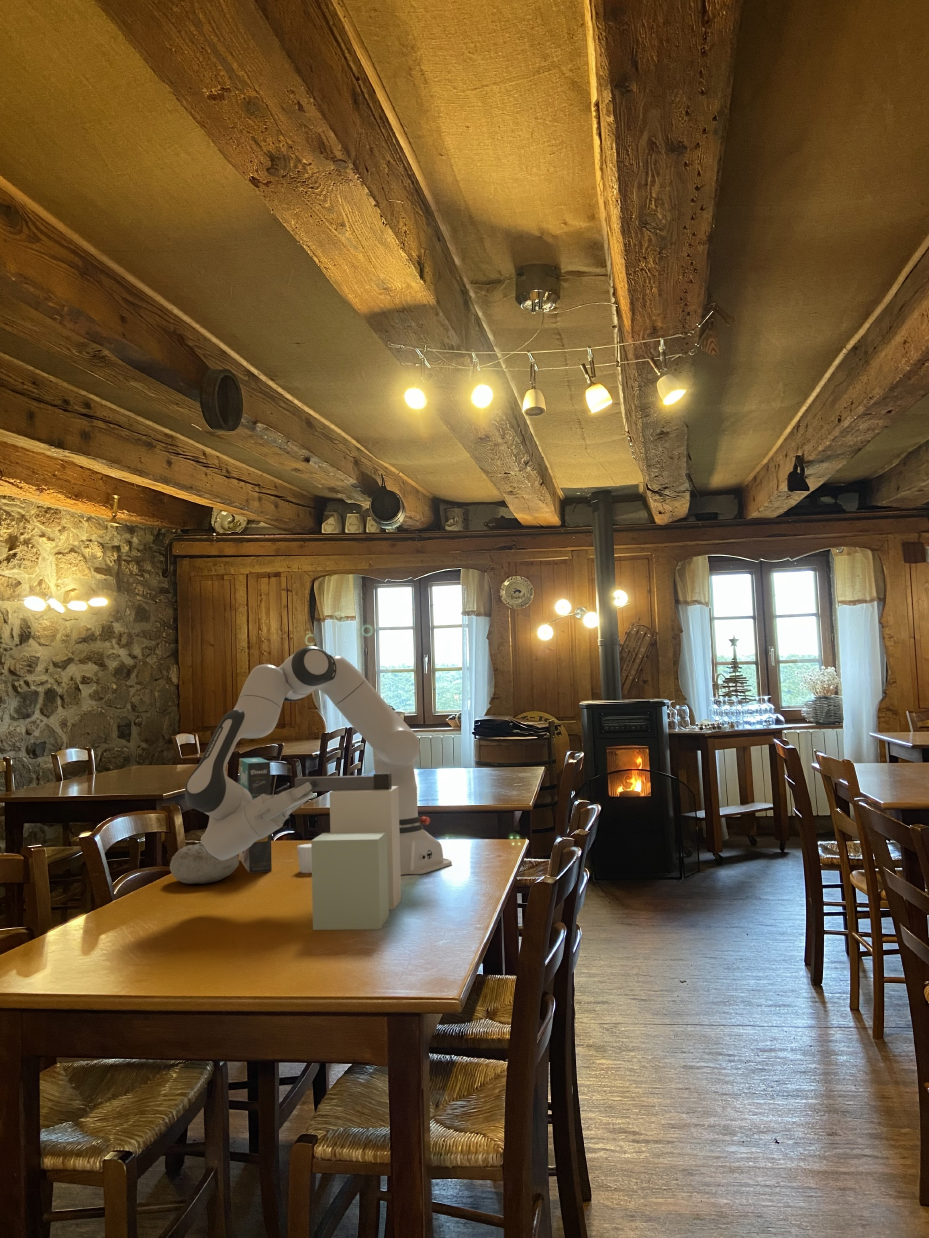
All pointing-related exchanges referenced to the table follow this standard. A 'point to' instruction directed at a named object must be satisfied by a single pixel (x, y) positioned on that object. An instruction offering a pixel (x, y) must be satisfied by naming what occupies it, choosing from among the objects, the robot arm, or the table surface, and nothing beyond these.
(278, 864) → the table surface
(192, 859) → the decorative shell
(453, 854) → the table surface
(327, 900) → the low post
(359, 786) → the metal bar
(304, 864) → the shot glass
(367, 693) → the robot arm
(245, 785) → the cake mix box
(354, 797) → the tall post
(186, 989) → the table surface
